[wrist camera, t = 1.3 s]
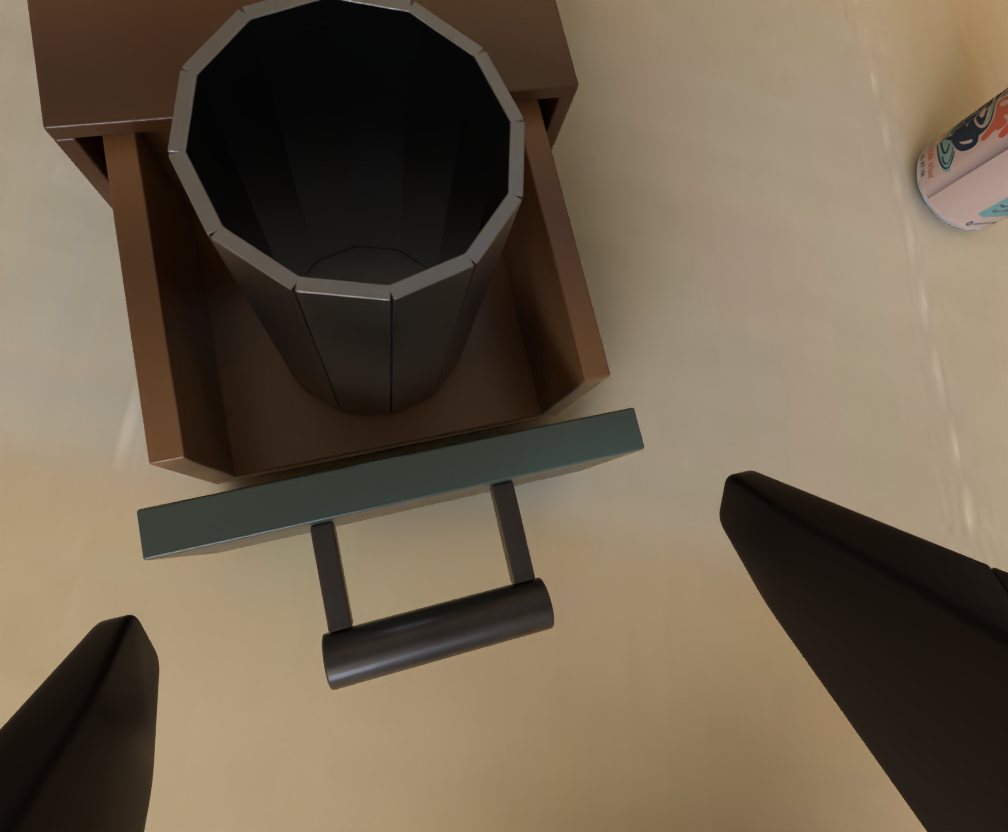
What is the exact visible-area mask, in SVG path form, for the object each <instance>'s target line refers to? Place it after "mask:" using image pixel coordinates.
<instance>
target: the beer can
mask: <svg viewBox="0 0 1008 832" xmlns="http://www.w3.org/2000/svg"><path fill="white" fill-rule="evenodd" d="M917 184H918V188H919V190H920V193H921V195H922V198H923V200H924V201H925V203H926V205H927V206H928V207H929V208H930V209H931V211H932V212H933V213H934V214H935V215H936V216H937V217H939V218H940V219H941V220H943V221H944V222H945V223H948V224H950V225H952V226H954V227H956V228H958V229H963V230H980V229H983V228H985V227H988V226H990V225H992V224H994V223H996V222H998V221H1000V220H1002V219H1004V218H1006V217H1008V88H1007V89H1005V90H1004V91H1003V92H1001V93H1000V94H999V95H997V96H996V97H994V98H993V99H992V100H990V101H989V102H988V103H986V104H985V105H983V106H982V107H981V108H979V109H978V110H976V111H975V112H974V113H972V114H971V115H970V116H968V117H967V118H965V119H964V120H963V121H961V122H960V123H958V124H957V125H956V126H954V127H953V128H952V129H950V130H949V131H947V132H946V133H945V134H943V135H942V136H941V137H939V138H938V139H936V140H935V141H933V142H932V143H931V144H929V145H928V146H927V147H926V148H925V149H924V150H923V152H922V153H921V155H920V157H919V160H918V163H917Z"/></svg>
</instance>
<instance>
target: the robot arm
mask: <svg viewBox="0 0 1008 832" xmlns="http://www.w3.org/2000/svg"><path fill="white" fill-rule="evenodd" d="M720 521H721V524H722V527H723V529H724V531H725V532H726V534H727V536H728V538H729V539H730V541H731V543H732V545H733V547H734V548H735V550H736V552H737V554H738V555H739V557H740V559H741V561H742V562H743V564H744V566H745V568H746V570H747V571H748V573H749V575H750V577H751V578H752V580H753V582H754V584H755V585H756V587H757V589H758V591H759V592H760V594H761V596H762V597H763V599H764V601H765V602H766V604H767V605H768V607H769V608H770V610H771V611H772V613H773V614H774V616H775V617H776V619H777V620H778V622H779V623H780V624H781V626H782V627H783V629H784V630H785V632H786V633H787V634H788V636H789V637H790V639H791V640H792V641H793V643H794V644H795V646H796V647H797V648H798V650H799V651H800V653H801V654H802V656H803V657H804V658H805V660H806V661H807V663H808V664H809V665H810V667H811V668H812V670H813V671H814V672H815V674H816V675H817V677H818V678H819V680H820V681H821V682H822V684H823V685H824V687H825V688H826V689H827V691H828V692H829V694H830V695H831V696H832V698H833V699H834V701H835V702H836V704H837V705H838V706H839V708H840V709H841V711H842V712H843V713H844V715H845V716H846V718H847V719H848V721H849V722H850V723H851V725H852V726H853V728H854V729H855V730H856V732H857V733H858V735H859V736H860V737H861V739H862V740H863V742H864V743H865V745H866V746H867V747H868V749H869V750H870V752H871V753H872V754H873V756H874V757H875V759H876V760H877V761H878V763H879V764H880V766H881V767H882V769H883V770H884V771H885V773H886V774H887V776H888V777H889V778H890V780H891V781H892V783H893V784H894V785H895V787H896V788H897V790H898V791H899V793H900V794H901V795H902V797H903V798H904V800H905V801H906V802H907V804H908V805H909V807H910V808H911V810H912V811H913V812H914V814H915V815H916V817H917V818H918V819H919V821H920V822H921V824H922V825H923V826H924V828H925V829H926V831H927V832H1008V573H1007V572H1004V571H1002V570H999V569H997V568H992V569H991V568H990V567H989V566H988V565H986V564H984V563H981V562H979V561H977V560H974V559H972V558H969V557H967V556H964V555H962V554H959V553H957V552H954V551H952V550H949V549H947V548H944V547H942V546H939V545H937V544H934V543H932V542H929V541H927V540H924V539H922V538H919V537H917V536H914V535H912V534H909V533H907V532H904V531H902V530H899V529H897V528H894V527H892V526H889V525H887V524H884V523H882V522H880V521H877V520H875V519H872V518H870V517H867V516H865V515H862V514H860V513H857V512H855V511H852V510H850V509H847V508H845V507H842V506H840V505H837V504H835V503H832V502H830V501H827V500H825V499H822V498H820V497H817V496H815V495H812V494H810V493H807V492H805V491H802V490H800V489H797V488H795V487H792V486H790V485H787V484H785V483H782V482H780V481H778V480H775V479H773V478H770V477H768V476H765V475H763V474H760V473H758V472H755V471H745V472H741V473H736V474H732V475H730V476H729V477H728V478H727V479H726V482H725V486H724V491H723V497H722V502H721V507H720ZM158 683H159V661H158V656H157V653H156V651H155V649H154V647H153V645H152V643H151V642H150V640H149V638H148V636H147V634H146V632H145V630H144V629H143V627H142V625H141V623H140V621H139V620H138V619H137V618H136V617H135V616H133V615H126V616H122V617H117V618H113V619H109V620H105V621H102V622H100V623H98V624H97V625H96V626H95V627H94V628H93V629H92V630H91V631H90V632H89V633H88V634H87V635H86V636H85V637H84V638H83V640H82V641H81V642H80V643H79V644H78V645H77V646H76V647H75V648H74V649H73V651H72V652H71V653H70V654H69V655H68V656H67V657H66V658H65V659H64V660H63V661H62V663H61V664H60V665H59V666H58V667H57V668H56V669H55V670H54V671H53V672H52V673H51V675H50V676H49V677H48V678H47V679H46V680H45V681H44V682H43V683H42V684H41V686H40V687H39V688H38V689H37V690H36V691H35V692H34V693H33V694H32V695H31V696H30V698H29V699H28V700H27V701H26V702H25V703H24V704H23V705H22V706H21V707H20V708H19V710H18V711H17V712H16V713H15V714H14V715H13V716H12V717H11V718H10V719H9V721H8V722H7V723H6V724H5V725H4V726H3V727H2V728H1V729H0V832H144V830H145V824H146V818H147V812H148V807H149V801H150V794H151V787H152V780H153V768H154V753H155V735H156V718H157V700H158Z"/></svg>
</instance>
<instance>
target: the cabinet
mask: <svg viewBox="0 0 1008 832" xmlns="http://www.w3.org/2000/svg"><path fill="white" fill-rule="evenodd" d="M27 1H28V9H29V17H30V25H31V33H32V40H33V48H34V56H35V64H36V72H37V79H38V87H39V95H40V103H41V111H42V118H43V126H44V129H45V130H46V131H47V132H48V133H49V135H50V136H51V137H52V138H53V139H54V140H55V142H56V143H57V144H58V145H59V146H60V148H61V149H62V150H63V151H64V152H65V153H66V155H67V156H68V157H69V158H70V159H71V161H72V162H73V163H74V164H75V165H76V166H77V168H78V169H79V170H80V171H81V172H82V173H83V175H84V176H85V177H86V178H87V179H88V181H89V182H90V183H91V184H92V185H93V186H94V188H95V189H96V190H97V191H98V192H99V193H100V195H101V196H102V197H103V198H104V199H105V201H106V202H107V203H108V204H109V205H110V206H111V208H112V209H113V206H112V199H111V193H110V186H109V179H108V172H107V165H106V158H105V151H104V144H103V137H102V136H105V135H117V134H129V133H141V132H153V131H165V130H171V125H172V119H173V112H174V106H175V100H176V93H177V87H178V80H179V74H180V71H181V70H182V71H183V68H182V67H183V65H184V64H185V63H186V62H187V61H188V60H189V59H190V58H191V57H192V56H193V55H194V54H195V53H196V52H197V51H198V50H199V49H200V48H201V47H202V46H203V45H204V44H205V43H206V42H207V40H208V39H209V38H210V37H211V36H212V35H213V34H214V33H215V32H216V31H217V30H218V29H219V28H220V27H221V26H222V25H223V24H224V23H225V22H226V21H227V20H228V19H229V18H230V17H231V16H232V15H233V14H234V13H235V12H236V11H237V10H238V9H239V10H241V11H242V12H243V10H242V7H243V6H247V5H250V4H254V3H258V2H261V1H265V0H27ZM411 1H412V4H413V3H414V2H415V1H416V2H417V3H419V4H420V5H422V6H423V7H425V8H426V9H428V10H429V11H431V12H432V13H433V14H435V15H436V16H438V17H439V18H441V19H442V20H444V21H445V22H447V23H448V24H449V25H451V26H452V27H454V28H455V29H457V30H458V31H460V32H461V33H463V34H464V35H466V36H467V37H468V38H470V39H471V40H473V41H474V42H476V43H477V44H479V45H480V46H482V47H483V51H486V52H487V53H488V55H489V57H490V59H491V60H492V62H493V64H494V66H495V68H496V69H497V71H498V73H499V75H500V77H501V78H502V80H503V82H504V84H505V85H506V87H507V89H508V91H509V93H510V94H511V96H512V98H513V100H514V101H524V100H536V99H538V102H539V106H540V110H541V114H542V118H543V121H544V125H545V129H546V133H547V137H548V140H549V144H550V148H551V150H552V148H553V145H554V143H555V141H556V138H557V136H558V134H559V131H560V129H561V126H562V124H563V122H564V119H565V117H566V114H567V112H568V110H569V107H570V105H571V102H572V100H573V96H574V95H575V93H576V90H577V88H578V81H577V77H576V74H575V70H574V66H573V63H572V59H571V56H570V52H569V48H568V45H567V41H566V37H565V34H564V30H563V27H562V23H561V19H560V16H559V12H558V8H557V5H556V1H555V0H411Z"/></svg>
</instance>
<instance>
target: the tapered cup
mask: <svg viewBox="0 0 1008 832" xmlns="http://www.w3.org/2000/svg"><path fill="white" fill-rule="evenodd" d="M242 10H243V12H242V11H241V10H239V9H238V10H237V11H236V12H235V13H234V14H233V15H232V16H231V17H230V18H229V19H228V20H227V21H226V22H225V23H224V24H223V25H222V26H221V27H220V28H219V29H218V30H217V31H216V32H215V33H214V34H213V35H212V36H211V37H210V38H209V39H208V40H207V42H206V43H205V44H204V45H203V46H202V47H201V48H200V49H199V50H198V51H197V52H196V53H195V54H194V55H193V56H192V57H191V58H190V59H189V60H188V61H187V62H186V63H185V64H184V65H183V67H182V68H183V71H182V70H181V71H180V74H179V80H178V87H177V93H176V100H175V106H174V112H173V119H172V125H171V132H170V138H169V145H168V152H169V159H170V161H171V163H172V165H173V167H174V169H175V171H176V173H177V175H178V177H179V179H180V181H181V183H182V185H183V187H184V189H185V191H186V193H187V195H188V197H189V199H190V201H191V203H192V205H193V207H194V209H195V211H196V213H197V215H198V217H199V219H200V221H201V223H202V225H203V227H204V229H205V231H206V233H207V235H208V237H209V238H210V240H211V242H212V243H213V245H214V247H215V248H216V250H217V251H218V253H219V255H220V256H221V258H222V260H223V261H224V263H225V265H226V266H227V268H228V270H229V271H230V273H231V275H232V276H233V278H234V279H235V281H236V283H237V284H238V286H239V288H240V289H241V291H242V293H243V294H244V296H245V298H246V299H247V301H248V302H249V304H250V306H251V307H252V309H253V311H254V312H255V314H256V316H257V317H258V319H259V321H260V322H261V324H262V326H263V327H264V329H265V330H266V332H267V334H268V335H269V337H270V339H271V340H272V342H273V344H274V345H275V347H276V349H277V350H278V352H279V353H280V355H281V357H282V358H283V360H284V362H285V363H286V365H287V367H288V368H289V370H290V372H291V373H292V375H293V377H294V378H295V380H296V381H297V382H298V383H299V384H300V385H301V386H303V387H304V388H306V389H307V390H309V391H310V392H311V393H312V394H314V395H315V396H316V397H318V398H319V399H320V400H322V401H324V402H326V403H328V404H329V405H331V406H334V407H335V408H337V409H339V410H340V409H341V410H342V411H349V412H353V413H359V414H390V413H394V412H396V411H400V410H404V409H406V408H409V407H411V406H413V405H415V404H417V403H419V402H421V401H422V400H424V399H425V398H427V397H428V396H430V395H432V394H434V393H435V391H437V390H438V389H439V387H440V386H441V384H442V383H443V382H444V381H445V379H446V378H447V377H448V375H449V373H450V372H451V370H452V368H453V367H454V365H455V364H456V362H457V361H458V359H459V358H460V356H461V354H462V352H463V349H464V346H465V344H466V341H467V339H468V336H469V334H470V331H471V329H472V326H473V324H474V321H475V318H476V316H477V313H478V311H479V308H480V306H481V303H482V301H483V298H484V296H485V293H486V290H487V288H488V285H489V283H490V280H491V278H492V275H493V273H494V270H495V268H496V265H497V262H498V260H499V257H500V255H501V252H502V250H503V247H504V245H505V242H506V239H507V237H508V234H509V232H510V229H511V227H512V224H513V222H514V219H515V217H516V214H517V211H518V209H519V206H520V204H521V200H522V198H523V184H524V146H525V122H523V120H524V118H523V116H522V114H521V112H520V111H519V109H518V107H517V105H516V103H515V102H514V100H513V98H512V96H511V94H510V93H509V91H508V89H507V87H506V85H505V84H504V82H503V80H502V78H501V77H500V75H499V73H498V71H497V69H496V68H495V66H494V64H493V62H492V60H491V59H490V57H489V55H488V53H487V52H486V51H483V47H482V46H480V45H479V44H477V43H476V42H474V41H473V40H471V39H470V38H468V37H467V36H466V35H464V34H463V33H461V32H460V31H458V30H457V29H455V28H454V27H452V26H451V25H449V24H448V23H447V22H445V21H444V20H442V19H441V18H439V17H438V16H436V15H435V14H433V13H432V12H431V11H429V10H428V9H426V8H425V7H423V6H422V5H420V4H419V3H417V2H416V1H415V2H414V3H413V4H412V1H411V0H265V1H261V2H258V3H254V4H250V5H247V6H243V7H242Z"/></svg>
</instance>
